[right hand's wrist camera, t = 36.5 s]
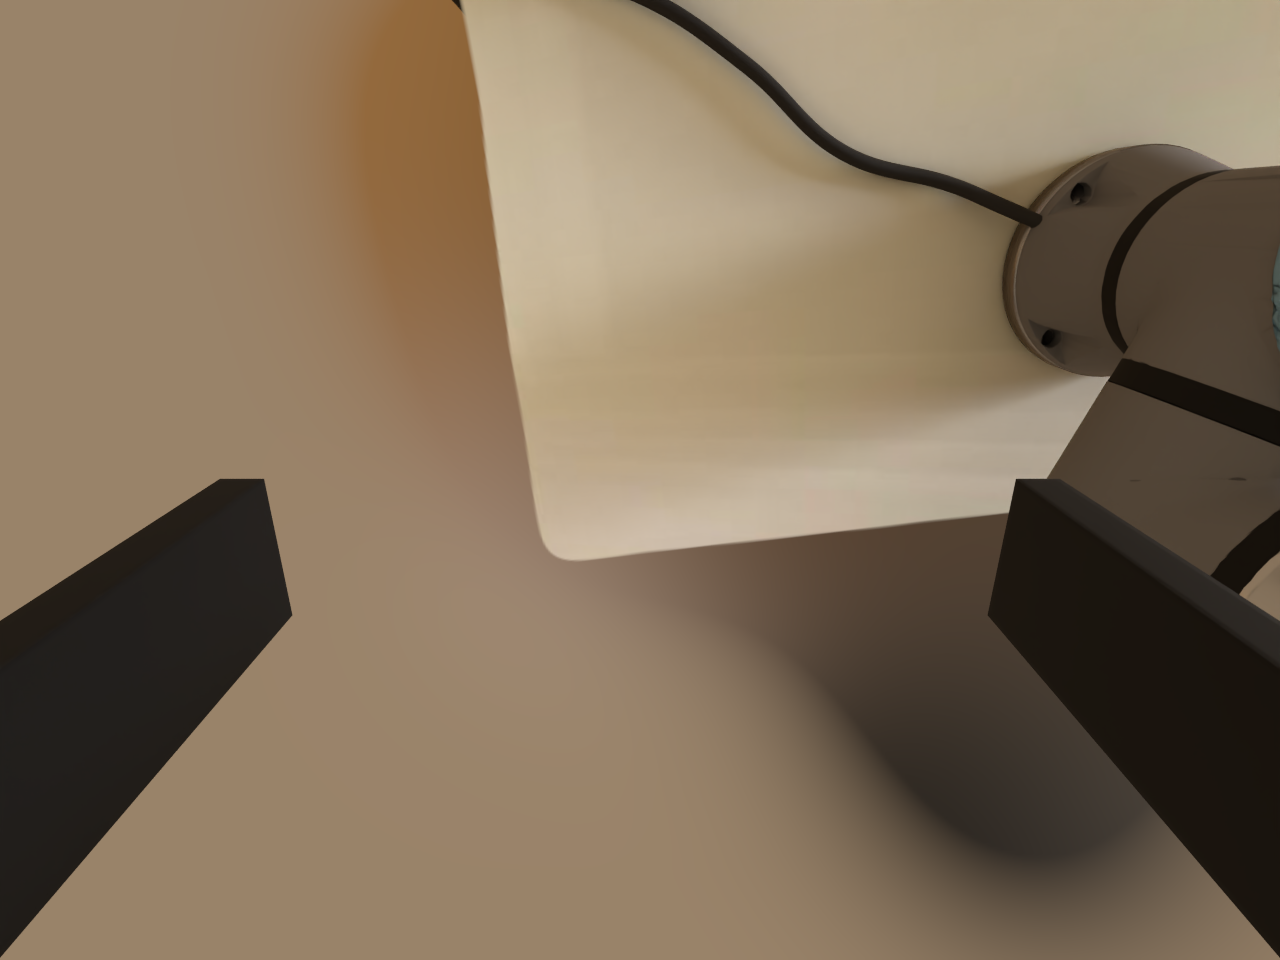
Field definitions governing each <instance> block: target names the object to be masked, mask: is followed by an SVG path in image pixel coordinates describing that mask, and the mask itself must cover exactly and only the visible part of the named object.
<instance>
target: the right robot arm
mask: <svg viewBox="0 0 1280 960" xmlns="http://www.w3.org/2000/svg"><path fill="white" fill-rule="evenodd" d="M452 1H453V2H454V3H455V4H456V5H457V7H458V8H459V9H460V10H461V11H462V12H463V8H462V3H461V0H452ZM631 1H634V2H636V3H638V4H640V5H642V6H645V7H647V8H649V9H651V10H653V11H655V12H657V13H658V14H660V15H662V16H664V17H666V18H667V19H669V20H671V21H673V22H674V23H676V24H677V25H679V26H681V27H682V28H684V29H685V30H687V31H688V32H690V33H691V34H693V35H694V36H695V37H697V38H698V39H700V40H701V41H702V42H704V43H705V44H707V45H708V46H709V47H711V48H712V49H713V50H714V51H716V52H717V53H718V54H720V55H721V56H722V57H724V58H725V59H726V60H727V61H729V62H730V63H731V64H733V65H734V66H735V67H736V68H738V69H739V70H740V71H742V72H743V73H744V74H745V75H747V76H748V77H749V78H750V79H752V80H753V81H754V82H755V83H756V84H757V85H758V86H759V87H761V88H762V89H763V90H764V91H765V92H766V93H767V94H768V95H769V96H770V97H771V98H772V99H773V100H774V102H775V103H776V104H777V105H778V106H779V107H780V108H781V109H782V110H783V111H784V112H785V113H786V114H787V116H788V117H789V118H790V119H791V120H792V121H793V122H794V123H795V124H796V125H797V126H798V127H799V128H800V129H801V130H802V131H803V132H804V133H805V134H806V135H807V136H808V137H809V138H810V139H811V140H813V141H814V142H815V143H816V144H818V145H819V146H820V147H821V148H823V149H824V150H826V151H827V152H828V153H830V154H832V155H833V156H835V157H837V158H838V159H840V160H842V161H844V162H846V163H848V164H850V165H852V166H854V167H856V168H859V169H861V170H864V171H867V172H870V173H873V174H876V175H880V176H884V177H888V178H893V179H898V180H903V181H908V182H913V183H918V184H922V185H927V186H931V187H934V188H938V189H941V190H944V191H947V192H950V193H953V194H956V195H959V196H961V197H963V198H966V199H968V200H970V201H973V202H975V203H977V204H979V205H981V206H984V207H986V208H988V209H990V210H993V211H995V212H997V213H999V214H1002V215H1004V216H1006V217H1009V218H1011V219H1013V220H1015V221H1018V222H1020V223H1019V225H1018V227H1017V229H1016V231H1015V233H1014V236H1013V238H1012V241H1011V243H1010V246H1009V249H1008V252H1007V256H1006V260H1005V265H1004V272H1003V299H1004V305H1005V310H1006V313H1007V317H1008V319H1009V322H1010V324H1011V327H1012V328H1013V330H1014V332H1015V334H1016V335H1017V337H1018V338H1019V340H1020V341H1021V342H1022V343H1023V344H1024V346H1025V347H1026V348H1027V349H1028V350H1029V351H1031V352H1032V353H1033V354H1034V355H1035V356H1037V357H1038V358H1040V359H1041V360H1043V361H1045V362H1047V363H1049V364H1051V365H1054V366H1056V367H1059V368H1062V369H1064V370H1067V371H1070V372H1072V373H1076V374H1080V375H1086V376H1097V377H1106V376H1111V377H1110V378H1109V380H1108V381H1107V382H1106V384H1105V385H1104V387H1103V389H1102V390H1101V392H1100V394H1099V395H1098V397H1097V398H1096V400H1095V402H1094V403H1093V405H1092V406H1091V408H1090V410H1089V411H1088V413H1087V415H1086V416H1085V418H1084V419H1083V421H1082V423H1081V424H1080V426H1079V428H1078V429H1077V431H1076V432H1075V434H1074V436H1073V437H1072V439H1071V440H1070V442H1069V444H1068V445H1067V447H1066V449H1065V450H1064V452H1063V453H1062V455H1061V457H1060V458H1059V460H1058V461H1057V463H1056V465H1055V466H1054V468H1053V470H1052V471H1051V473H1050V474H1049V476H1048V478H1047V479H1016V482H1015V487H1014V491H1013V496H1012V501H1011V506H1010V511H1009V515H1008V520H1007V525H1006V530H1005V535H1004V539H1003V544H1002V549H1001V554H1000V559H999V563H998V568H997V573H996V578H995V582H994V587H993V592H992V597H991V602H990V607H989V611H988V616H989V617H990V618H991V620H992V621H993V622H994V623H995V624H996V625H997V627H998V628H999V629H1000V630H1001V631H1002V633H1003V634H1004V635H1005V636H1006V637H1007V638H1008V640H1009V641H1010V642H1011V643H1012V644H1013V645H1014V647H1015V648H1016V649H1017V650H1018V651H1019V652H1020V654H1021V655H1022V656H1023V657H1024V658H1025V659H1026V661H1027V662H1028V663H1029V664H1030V665H1031V667H1032V668H1033V669H1034V670H1035V671H1036V672H1037V674H1038V675H1039V676H1040V677H1041V678H1042V679H1043V681H1044V682H1045V683H1046V684H1047V685H1048V686H1049V688H1050V689H1051V690H1052V691H1053V692H1054V693H1055V695H1056V696H1057V697H1058V698H1059V699H1060V700H1061V702H1062V703H1063V704H1064V705H1065V706H1066V707H1067V709H1068V710H1069V711H1070V712H1071V713H1072V715H1073V716H1074V717H1075V718H1076V719H1077V720H1078V722H1079V723H1080V724H1081V725H1082V726H1083V727H1084V729H1085V730H1086V731H1087V732H1088V733H1089V734H1090V736H1091V737H1092V738H1093V739H1094V740H1095V742H1096V743H1097V744H1098V745H1099V746H1100V747H1101V749H1102V750H1103V751H1104V752H1105V753H1106V754H1107V755H1108V757H1109V758H1110V759H1111V760H1112V761H1113V763H1114V764H1115V765H1116V766H1117V767H1118V768H1119V770H1120V771H1121V772H1122V773H1123V774H1124V775H1125V777H1126V778H1127V779H1128V780H1129V781H1130V783H1131V784H1132V785H1133V786H1134V787H1135V788H1136V790H1137V791H1138V792H1139V793H1140V794H1141V795H1142V797H1143V798H1144V799H1145V800H1146V801H1147V802H1148V804H1149V805H1150V806H1151V807H1152V808H1153V809H1154V811H1155V812H1156V813H1157V814H1158V815H1159V817H1160V818H1161V819H1162V820H1163V821H1164V822H1165V824H1166V825H1167V826H1168V827H1169V828H1170V829H1171V831H1172V832H1173V833H1174V834H1175V835H1176V836H1177V838H1178V839H1179V840H1180V841H1181V842H1182V843H1183V845H1184V846H1185V847H1186V848H1187V849H1188V851H1189V852H1190V853H1191V854H1192V855H1193V856H1194V858H1195V859H1196V860H1197V861H1198V862H1199V863H1200V865H1201V866H1202V867H1203V868H1204V869H1205V870H1206V872H1207V873H1208V874H1209V875H1210V876H1211V877H1212V879H1213V880H1214V881H1215V882H1216V883H1217V884H1218V886H1219V887H1220V888H1221V889H1222V890H1223V892H1224V893H1225V894H1226V895H1227V896H1228V897H1229V899H1230V900H1231V901H1232V902H1233V903H1234V904H1235V906H1236V907H1237V908H1238V909H1239V910H1240V911H1241V913H1242V914H1243V915H1244V916H1245V917H1246V918H1247V920H1248V921H1249V922H1250V923H1251V924H1252V925H1253V927H1254V928H1255V929H1256V930H1257V931H1258V933H1259V934H1260V935H1261V936H1262V937H1263V938H1264V940H1265V941H1266V942H1267V943H1268V944H1269V945H1270V947H1271V948H1272V949H1273V950H1274V951H1275V952H1276V954H1277V955H1278V956H1279V957H1280V166H1270V167H1257V168H1244V169H1232V168H1230V167H1228V166H1226V165H1224V164H1221V163H1219V162H1217V161H1215V160H1213V159H1211V158H1209V157H1206V156H1204V155H1202V154H1200V153H1197V152H1195V151H1192V150H1190V149H1187V148H1183V147H1180V146H1175V145H1168V144H1147V145H1138V146H1130V147H1123V148H1117V149H1113V150H1109V151H1106V152H1103V153H1100V154H1097V155H1095V156H1092V157H1090V158H1088V159H1086V160H1084V161H1082V162H1080V163H1079V164H1077V165H1075V166H1073V167H1072V168H1070V169H1069V170H1067V171H1066V172H1065V173H1063V174H1062V175H1060V176H1059V177H1058V178H1057V179H1056V180H1054V181H1053V182H1052V183H1051V184H1050V185H1049V186H1048V187H1047V188H1046V189H1045V190H1044V191H1043V192H1042V193H1041V194H1040V195H1039V196H1038V198H1037V199H1036V200H1035V201H1034V202H1033V204H1032V205H1031V206H1030V208H1029V209H1027V208H1024V207H1022V206H1020V205H1017V204H1015V203H1013V202H1010V201H1008V200H1006V199H1004V198H1001V197H999V196H997V195H995V194H992V193H990V192H988V191H986V190H983V189H981V188H979V187H977V186H974V185H972V184H970V183H967V182H965V181H962V180H959V179H956V178H953V177H950V176H947V175H944V174H940V173H937V172H933V171H929V170H924V169H920V168H915V167H910V166H905V165H900V164H895V163H891V162H887V161H883V160H879V159H876V158H873V157H870V156H868V155H865V154H863V153H860V152H858V151H856V150H854V149H852V148H850V147H848V146H846V145H845V144H843V143H842V142H840V141H838V140H837V139H835V138H834V137H833V136H831V135H830V134H828V133H827V132H826V131H825V130H824V129H822V128H821V127H820V126H819V125H818V124H817V123H816V122H815V121H813V120H812V118H811V117H810V116H809V115H808V114H807V113H806V112H805V111H804V110H803V109H802V108H801V107H800V106H799V105H798V104H797V103H796V102H795V100H794V99H793V98H792V97H791V96H790V95H789V94H788V93H787V92H786V91H785V90H784V88H783V87H782V86H781V85H780V84H779V83H778V82H777V81H776V80H775V79H774V78H773V77H772V76H771V75H770V74H769V73H767V72H766V71H765V70H764V69H763V68H762V67H761V66H760V65H758V64H757V63H756V62H755V61H753V60H752V59H751V58H750V57H748V56H747V55H746V54H745V53H743V52H742V51H741V50H739V49H738V48H737V47H736V46H734V45H733V44H732V43H731V42H729V41H728V40H727V39H725V38H724V37H723V36H721V35H720V34H719V33H718V32H716V31H715V30H714V29H712V28H711V27H710V26H708V25H707V24H705V23H704V22H703V21H701V20H700V19H698V18H697V17H695V16H694V15H692V14H691V13H689V12H688V11H686V10H685V9H683V8H682V7H680V6H678V5H676V4H675V3H673V2H671V1H670V0H631ZM463 13H464V12H463ZM291 616H292V611H291V606H290V602H289V597H288V592H287V587H286V582H285V578H284V573H283V568H282V563H281V559H280V554H279V549H278V544H277V539H276V535H275V530H274V525H273V520H272V516H271V511H270V506H269V501H268V496H267V491H266V487H265V482H264V479H219V480H218V481H216V482H215V483H213V484H211V485H210V486H208V487H207V488H205V489H204V490H202V491H201V492H199V493H197V494H196V495H194V496H193V497H191V498H190V499H188V500H187V501H185V502H184V503H182V504H180V505H179V506H177V507H176V508H174V509H173V510H171V511H170V512H168V513H167V514H165V515H164V516H162V517H160V518H159V519H157V520H156V521H154V522H153V523H151V524H150V525H148V526H146V527H145V528H143V529H142V530H140V531H139V532H137V533H136V534H134V535H132V536H131V537H129V538H128V539H126V540H125V541H123V542H122V543H120V544H119V545H117V546H115V547H114V548H112V549H111V550H109V551H108V552H106V553H105V554H103V555H101V556H100V557H98V558H97V559H95V560H94V561H92V562H91V563H89V564H88V565H86V566H84V567H83V568H81V569H80V570H78V571H77V572H75V573H74V574H72V575H71V576H69V577H68V578H66V579H64V580H63V581H61V582H60V583H58V584H57V585H55V586H54V587H52V588H51V589H49V590H47V591H46V592H44V593H43V594H41V595H40V596H38V597H36V598H35V599H33V600H32V601H30V602H29V603H27V604H26V605H24V606H23V607H21V608H19V609H18V610H16V611H15V612H13V613H12V614H10V615H9V616H7V617H5V618H4V619H2V620H1V621H0V957H1V956H2V955H3V954H4V952H5V951H6V950H7V949H8V948H9V947H10V945H11V944H12V943H13V942H14V941H15V939H16V938H17V937H18V936H19V935H20V934H21V932H22V931H23V930H24V929H25V928H26V927H27V926H28V924H29V923H30V922H31V921H32V920H33V918H34V917H35V916H36V915H37V914H38V913H39V911H40V910H41V909H42V908H43V907H44V906H45V904H46V903H47V902H48V901H49V900H50V899H51V897H52V896H53V895H54V894H55V893H56V892H57V890H58V889H59V888H60V887H61V886H62V884H63V883H64V882H65V881H66V880H67V879H68V877H69V876H70V875H71V874H72V873H73V872H74V870H75V869H76V868H77V867H78V866H79V865H80V863H81V862H82V861H83V860H84V859H85V858H86V856H87V855H88V854H89V853H90V852H91V851H92V849H93V848H94V847H95V846H96V845H97V843H98V842H99V841H100V840H101V839H102V838H103V836H104V835H105V834H106V833H107V832H108V831H109V829H110V828H111V827H112V826H113V825H114V824H115V822H116V821H117V820H118V819H119V818H120V816H121V815H122V814H123V813H124V812H125V811H126V809H127V808H128V807H129V806H130V805H131V804H132V802H133V801H134V800H135V799H136V798H137V797H138V795H139V794H140V793H141V792H142V791H143V790H144V788H145V787H146V786H147V785H148V784H149V783H150V781H151V780H152V779H153V778H154V777H155V775H156V774H157V773H158V772H159V771H160V770H161V768H162V767H163V766H164V765H165V764H166V762H167V761H168V760H169V759H170V758H171V757H172V756H173V754H174V753H175V752H176V751H177V750H178V749H179V747H180V746H181V745H182V744H183V743H184V742H185V740H186V739H187V738H188V737H189V736H190V734H191V733H192V732H193V731H194V730H195V729H196V727H197V726H198V725H199V724H200V723H201V722H202V720H203V719H204V718H205V717H206V716H207V715H208V713H209V712H210V711H211V710H212V709H213V708H214V706H215V705H216V704H217V703H218V702H219V700H220V699H221V698H222V697H223V696H224V695H225V693H226V692H227V691H228V690H229V689H230V688H231V686H232V685H233V684H234V683H235V682H236V681H237V679H238V678H239V677H240V676H241V675H242V673H243V672H244V671H245V670H246V669H247V668H248V667H249V665H250V664H251V663H252V662H253V661H254V659H255V658H256V657H257V656H258V655H259V654H260V652H261V651H262V650H263V649H264V648H265V647H266V645H267V644H268V643H269V642H270V641H271V640H272V638H273V637H274V636H275V635H276V634H277V632H278V631H279V630H280V629H281V628H282V627H283V625H284V624H285V623H286V622H287V621H288V620H289V618H290V617H291Z"/></svg>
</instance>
